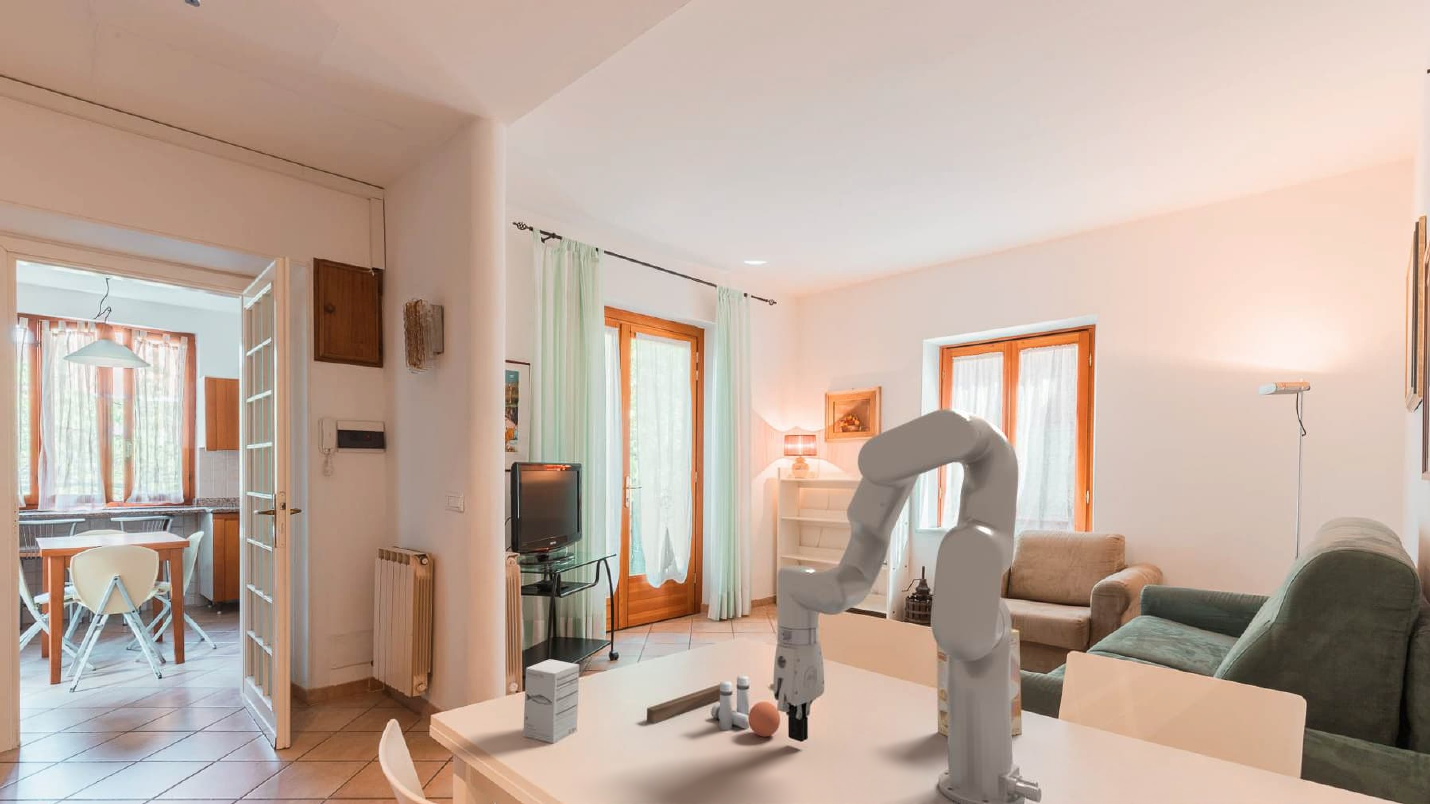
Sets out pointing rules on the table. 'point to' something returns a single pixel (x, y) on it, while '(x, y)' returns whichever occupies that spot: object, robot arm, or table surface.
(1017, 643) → the coffeecake box
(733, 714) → the front pin
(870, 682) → the table surface
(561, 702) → the supplement box
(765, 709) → the ball
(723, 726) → the pin
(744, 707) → the pin
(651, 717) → the back wall
